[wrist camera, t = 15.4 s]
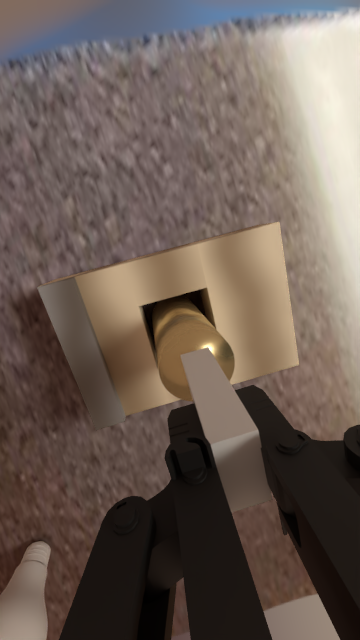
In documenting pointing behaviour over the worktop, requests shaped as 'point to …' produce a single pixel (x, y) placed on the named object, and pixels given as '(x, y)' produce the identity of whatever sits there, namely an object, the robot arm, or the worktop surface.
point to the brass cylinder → (185, 342)
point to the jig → (161, 283)
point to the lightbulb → (26, 597)
